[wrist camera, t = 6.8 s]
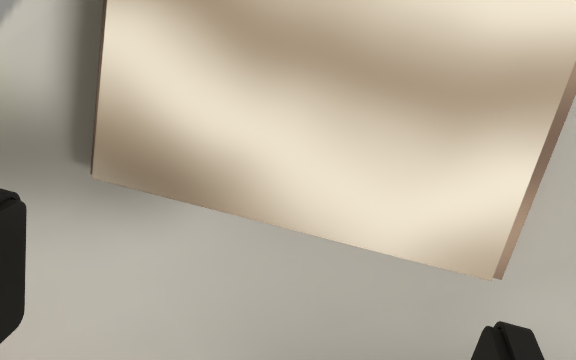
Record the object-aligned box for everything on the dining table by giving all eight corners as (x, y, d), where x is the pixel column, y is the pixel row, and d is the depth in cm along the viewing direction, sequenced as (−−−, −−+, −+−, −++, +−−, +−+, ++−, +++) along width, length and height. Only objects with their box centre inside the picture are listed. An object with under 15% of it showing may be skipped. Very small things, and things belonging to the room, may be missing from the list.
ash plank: (151, -248, 17) (130, -271, 15) (639, -157, 16) (665, -172, 14) (110, 166, 22) (91, 178, 20) (483, 261, 20) (491, 281, 19)
